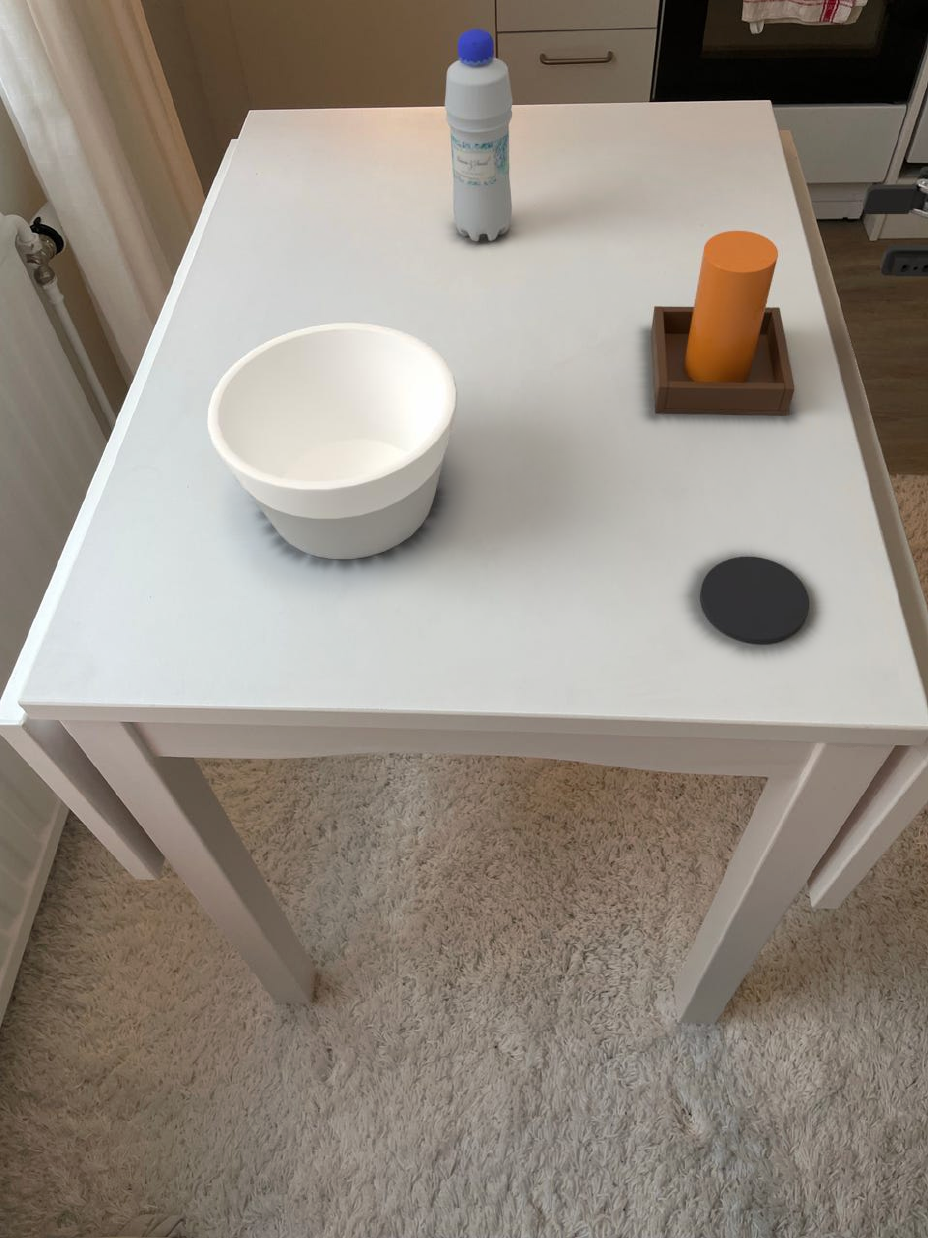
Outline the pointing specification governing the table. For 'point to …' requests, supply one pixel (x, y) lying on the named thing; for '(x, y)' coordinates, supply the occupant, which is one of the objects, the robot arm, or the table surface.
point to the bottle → (479, 137)
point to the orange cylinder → (729, 306)
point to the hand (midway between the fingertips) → (874, 228)
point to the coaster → (754, 600)
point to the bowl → (337, 434)
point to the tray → (755, 396)
